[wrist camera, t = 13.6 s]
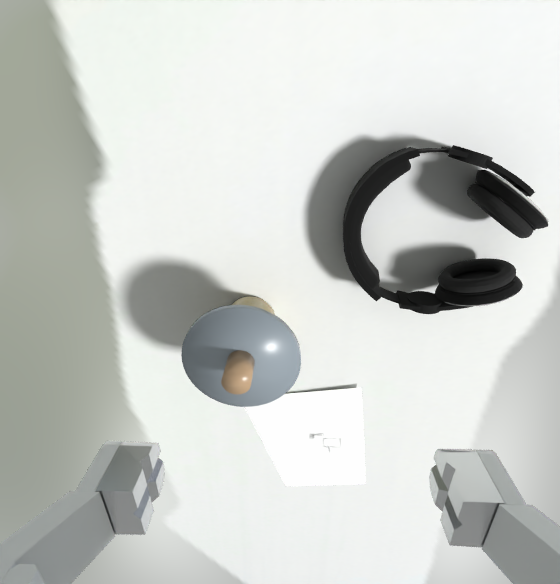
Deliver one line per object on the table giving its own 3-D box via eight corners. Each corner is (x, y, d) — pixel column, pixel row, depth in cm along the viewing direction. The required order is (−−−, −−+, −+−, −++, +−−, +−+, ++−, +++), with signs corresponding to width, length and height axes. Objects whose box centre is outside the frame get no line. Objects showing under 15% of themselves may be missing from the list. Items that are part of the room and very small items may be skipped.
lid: (176, 304, 38) (161, 327, 34) (300, 304, 37) (301, 328, 33) (192, 399, 44) (181, 429, 40) (300, 401, 43) (300, 431, 39)
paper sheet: (364, 489, 63) (365, 495, 62) (201, 483, 66) (199, 488, 65) (373, 383, 52) (374, 388, 52) (178, 381, 55) (175, 386, 54)
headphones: (517, 338, 39) (329, 308, 41) (490, 305, 46) (331, 280, 48) (597, 163, 31) (361, 135, 33) (550, 155, 38) (358, 133, 40)
